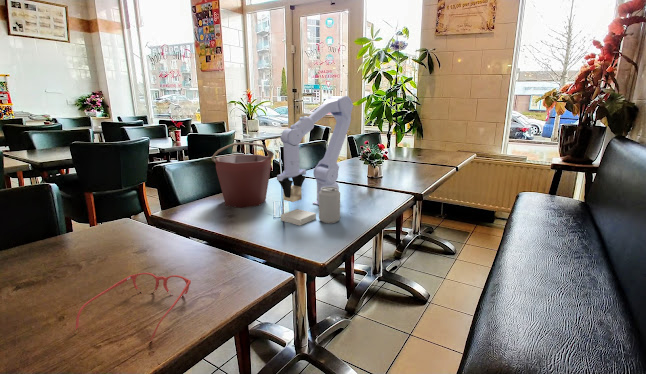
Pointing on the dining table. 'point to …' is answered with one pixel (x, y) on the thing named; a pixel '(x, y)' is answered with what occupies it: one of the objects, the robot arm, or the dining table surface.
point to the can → (329, 205)
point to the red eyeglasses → (137, 288)
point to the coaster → (298, 217)
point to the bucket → (243, 177)
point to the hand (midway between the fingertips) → (292, 195)
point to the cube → (294, 194)
